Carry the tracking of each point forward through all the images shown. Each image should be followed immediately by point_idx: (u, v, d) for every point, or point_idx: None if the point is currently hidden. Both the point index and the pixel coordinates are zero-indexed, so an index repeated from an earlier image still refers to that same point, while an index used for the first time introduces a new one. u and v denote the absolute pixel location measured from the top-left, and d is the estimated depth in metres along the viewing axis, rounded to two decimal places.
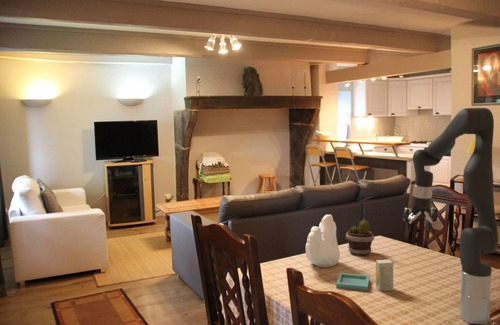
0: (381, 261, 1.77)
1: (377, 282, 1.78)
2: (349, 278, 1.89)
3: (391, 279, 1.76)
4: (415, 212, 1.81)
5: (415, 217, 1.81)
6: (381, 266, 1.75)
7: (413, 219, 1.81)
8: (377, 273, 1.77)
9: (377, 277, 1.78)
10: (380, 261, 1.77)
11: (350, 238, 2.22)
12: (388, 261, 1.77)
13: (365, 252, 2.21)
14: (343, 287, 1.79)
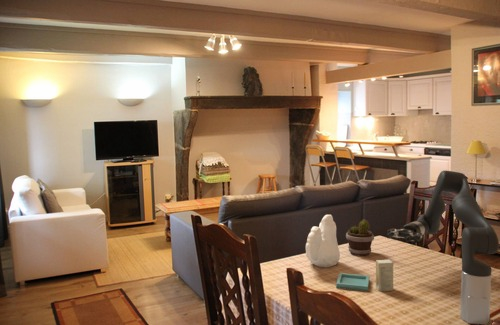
0: (381, 261, 1.77)
1: (377, 282, 1.78)
2: (349, 278, 1.89)
3: (391, 279, 1.76)
4: (400, 230, 1.92)
5: (398, 230, 1.91)
6: (381, 266, 1.75)
7: (395, 230, 1.91)
8: (377, 273, 1.77)
9: (377, 277, 1.78)
10: (380, 261, 1.77)
11: (350, 238, 2.22)
12: (388, 261, 1.77)
13: (365, 252, 2.21)
14: (343, 287, 1.79)
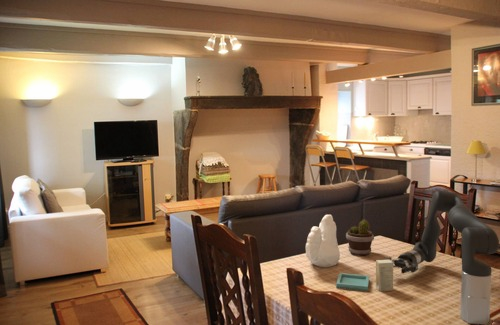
0: (381, 261, 1.77)
1: (377, 282, 1.78)
2: (349, 278, 1.89)
3: (391, 279, 1.76)
4: None
5: (394, 260, 1.89)
6: (381, 266, 1.75)
7: (391, 260, 1.89)
8: (377, 273, 1.77)
9: (377, 277, 1.78)
10: (380, 261, 1.77)
11: (350, 238, 2.22)
12: (388, 261, 1.77)
13: (365, 252, 2.21)
14: (343, 287, 1.79)
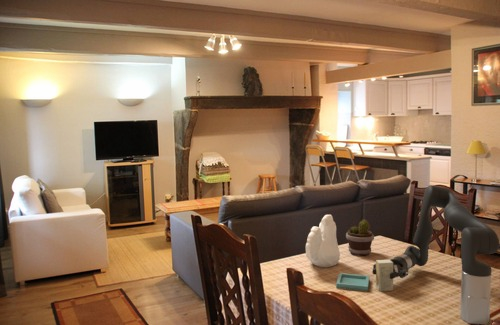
0: (381, 261, 1.77)
1: (377, 282, 1.78)
2: (349, 278, 1.89)
3: (391, 279, 1.76)
4: None
5: None
6: (381, 266, 1.75)
7: None
8: (377, 273, 1.77)
9: (377, 277, 1.78)
10: (380, 261, 1.77)
11: (350, 238, 2.22)
12: (388, 261, 1.77)
13: (365, 252, 2.21)
14: (343, 287, 1.79)
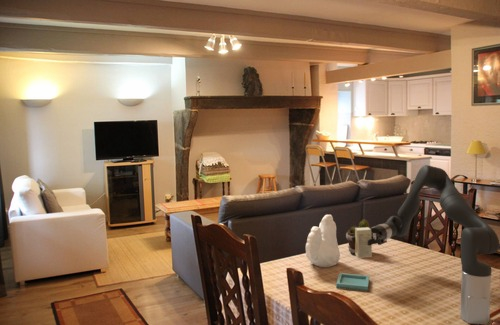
0: (360, 228, 1.80)
1: (356, 250, 1.82)
2: (349, 278, 1.89)
3: (369, 246, 1.79)
4: None
5: None
6: (359, 233, 1.79)
7: None
8: (356, 240, 1.81)
9: (356, 244, 1.81)
10: (359, 228, 1.81)
11: (350, 238, 2.22)
12: (366, 228, 1.80)
13: None
14: (343, 287, 1.79)
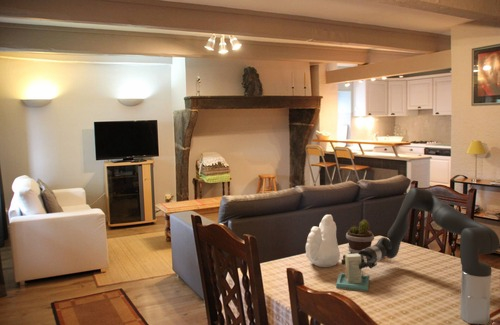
0: (350, 255, 1.83)
1: (346, 276, 1.84)
2: None
3: (359, 272, 1.82)
4: None
5: None
6: (350, 259, 1.81)
7: None
8: (346, 266, 1.83)
9: (346, 270, 1.83)
10: (349, 255, 1.83)
11: (350, 238, 2.22)
12: (356, 255, 1.83)
13: None
14: (343, 287, 1.79)
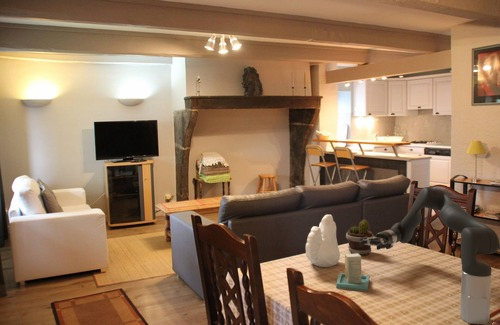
0: (350, 255, 1.83)
1: (346, 276, 1.84)
2: None
3: (359, 272, 1.82)
4: None
5: (370, 238, 1.96)
6: (350, 259, 1.81)
7: (368, 238, 1.96)
8: (346, 266, 1.83)
9: (346, 270, 1.83)
10: (349, 255, 1.83)
11: (350, 238, 2.22)
12: (356, 255, 1.83)
13: (365, 252, 2.21)
14: (343, 287, 1.79)
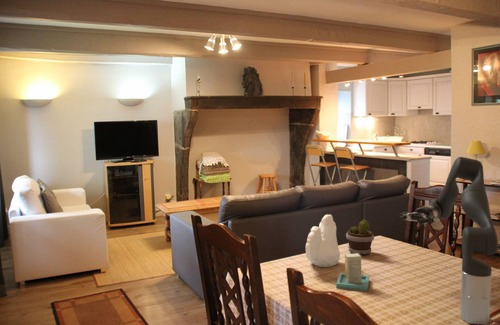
0: (350, 255, 1.83)
1: (346, 276, 1.84)
2: None
3: (359, 272, 1.82)
4: None
5: (410, 213, 1.88)
6: (350, 259, 1.81)
7: (408, 213, 1.88)
8: (346, 266, 1.83)
9: (346, 270, 1.83)
10: (349, 255, 1.83)
11: (350, 238, 2.22)
12: (356, 255, 1.83)
13: (365, 252, 2.21)
14: (343, 287, 1.79)
